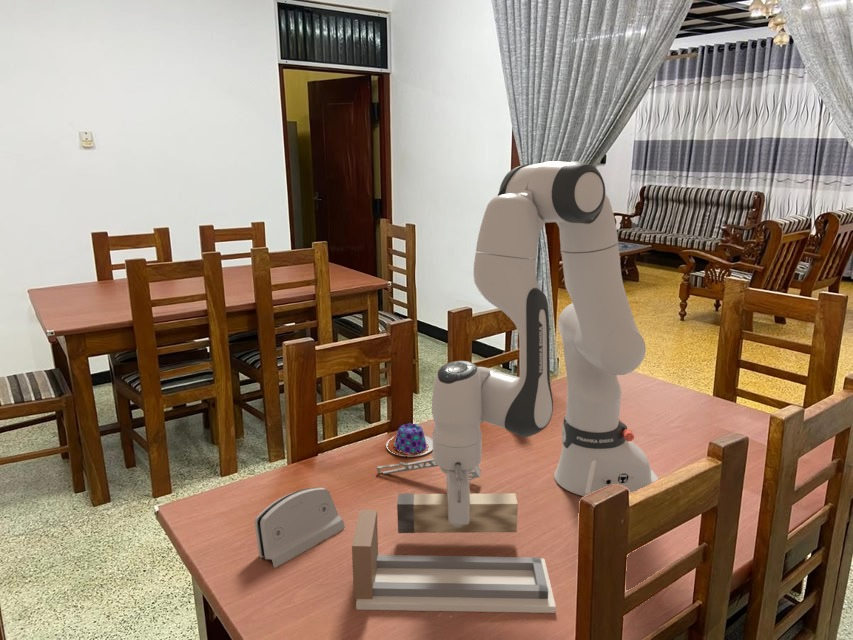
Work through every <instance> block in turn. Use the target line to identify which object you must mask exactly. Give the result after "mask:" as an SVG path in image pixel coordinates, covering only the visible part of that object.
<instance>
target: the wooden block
mask: <svg viewBox="0 0 853 640" xmlns="http://www.w3.org/2000/svg"><path fill="white" fill-rule="evenodd" d="M396 503H397V504H396V507H397V508H396V510H397V513H396V514H397V515H396V516H397V534H423V533H425V534H426V533H427V534H428V533H429V534H434V533H436V534H438V533H439V534H440V533H441V534H442V533H443V534H447V533H450V534H451V533H453V534H454V533H462V534H463V533H467V534H468V533H470V534H471V533H472V534H473V533H517V532H518V506H519V505H518V504H519V503H518V500H517V495H516V493H513V492H512V493H511V492H510V493H505V492H504V493H501V492H500V493H499V492H498V493H470V521H469V524H468V525H462V527H453V525H450V524H449V521H448V501H447V493H414V492H413V493H409V492H408V493H397V502H396Z"/></svg>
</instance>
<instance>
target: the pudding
mask: <svg viewBox="0 0 853 640" xmlns="http://www.w3.org/2000/svg"><path fill="white" fill-rule="evenodd" d="M395 436H396V439H395V443H394V446H396V448H395V450H396V449H397V450H399V451H400V450H401V451H403V452H405V453H412V452H414V453H417V452H421V453H422V451H421V450H424V451H425V449H427V448H426V447H428V446H429V448H428V451H426V452H425V453H423V454H420V455H415V456H414V457H419V456H424V455H426V454H428V453H429V454H430V452H433V438H432V437H430V436H427V435H425V433H424V429H423V428H422V426H421V425H419V424H417V423H410V422H409V423H406V424H402V425H400V427H398V429H397V431H396V435H394V436H392V437H391V438H389V439H388V440H387V441H386V443H385V447H386V449H387V450H388V451H389V452H390V453H391V454H394V455H395V456H396V455H397V456H400V457H405V456H404V455H398V454H395V453H393V452H391V451H390V450H389V449H388V447H387V446H388V443H389V441H390V440H392V439H393V438H394V437H395ZM427 444H428V446H427ZM403 452H402V453H403ZM414 453H412V454H414ZM410 457H411V458H412V456H408V458H410Z"/></svg>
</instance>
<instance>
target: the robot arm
mask: <svg viewBox="0 0 853 640" xmlns="http://www.w3.org/2000/svg"><path fill="white" fill-rule="evenodd" d="M615 219H616V218H615V215H614V211H613V208H612V205H611V202H610V199H609V196H608V195H607V194H606V184H605V181H604V179H603V176H602V174H601V173H600V171H599V170H598V169H597V168H596V167H595V166H594V165H592V164H589V163H587V162H583V161H576V160H574V161H573V160H572V161H570V162H569V161H562V160H561V161H559V160H558V161H557V160H554V161H552V160H551V161H545V162H539V163H534V164H528V163H527V164H523V165H520V166H517V167H514V168H513V169H511V170H510V171H508V172H507V174H505V176H504V177H503V179H502V181H501V184H500V187H499V191H498V194H497V196H495V197H493V198H492V199H491V200H490V201H489V202H488V204H487V205H486V208H485V210H484V214H483V217H482V220H481V224H480V227H479V232H478V236H477V242H476V247H475V248H476V249H475V255H474V261H473V281H474V284H475V286H476V288H477V289H478V292H479V293H480V295H482V296H483V298H484V299H485V300H486V301H487V302H489V303H490V304H491V305H493V306H494V307H496V308H497V309H498V310H499V311H501V312H503V313H504V314H505V315H506V316H507V317H508V318H509V319H510V320H511V321H512V323H513V324H514V325H515V327H516V330H517V332H518V336H519V376H517V375H516V376H515V375H512V374H508V373H505V372H502V371H499V370H497V369H493V368H489V367H484V366H478V365H476V364H475V363H473V362H471V361H468V360H455V361H449V362H448V363H445V364H444V365H442V366H440V367H439V368H438V370H437V371H436V374H435V377H434V382H433V385H432V386H433V387H432V398H431V400H432V401H431V408H432V409H431V411H432V413H431V414H432V417H433V418H432V419H433V422H434V426H433V427H434V428H433V430H432V440H433V450H432V459H433V462H434V463H435V464H436V465H437V466H436V467H439V470H441V472H443V473H444V474H446V494H447V501H448V521H449V524H450V525H453V527H462V525H468V524H469V521H470V494H471V492H470V491H471V490H470V480H469V479H470V478H468V475H470V474H469V473H471V472H472V471H475V470H474V467H476V466H477V465H478V466H479V465H480V463H481V462H482V446H483V445H482V440H483V437H482V430H481V424H482V423H484V422H485V423H488V424H491V425H494V426H497V427H500V428H502V429H505V430H506V431H508V432H510V433H512V434H514V435H517V436H519V437H521V438H529V437H532V436H534V435H535V436H536V434H537V435H538V433H540V432H542V431H543V430H544V429H546V428H547V426H548V425H549V424H550V423H551V420H552V416H553V411H554V399H553V394H552V392H553V391H552V387H551V376H550V374H551V373H550V371H551V369H550V367H551V366H550V365H551V364H550V362H551V361H550V354H551V353H550V350H551V349H550V312H549V303H548V299H547V296H546V294H545V293H544V292H543V291H542V290H541V289H540V287H539V283H538V279H537V271H536V269H537V268H536V264H537V256H538V248H539V235H540V232H541V231H542V229H543V227H544V226H545V224H547V223H548V224H549V223H556V224H557V227H558V228H559V244H560V251H561V261H562V270H563V278H564V279H563V280H564V286H565V289H566V291H567V293H568V295H569V298H570V299H571V303H570V304H569V303H568V305H566V306H565V307H564V308H563V310H562V311H561V312H560V314H559V316H558V322H557V324H558V325H557V326H558V327H557V328H558V331H559V334H560V337H561V341H562V346H563V355H564V356H563V357H564V366H565V372H566V381H567V390H566V391H567V395H566V396H567V397H566V411H565V416H564V418H563V422H562V423H563V425H562V429H561V430H562V431H561V441H562V447H561V452H560V457H559V460H558V464H557V467H556V469H555V471H554V474H553V475H554V480H555V482H556V483H557V484H558V485H559V486H560V487H561V488H563V489H564V490H565V491H569V492H571V493H573V494H575V495H579V496H580V497H581V496H582V497H583V498H585V497H584V496H585V495H588V494H590V493H592V492H594V491H597V490H599V489H601V488H604V487H606V486H609V485H612V484H619V485H623V486H625V487H627V488H628V489H629V490H630V492H633V491H637V490H638V489H640V488H643V487H645V486H647V485H649V484H651V483H652V482H654V481H656V480H658V479H659V477H658V475H657V474H656V473H655V472H654V470H653V469H652V468H651V464H650V461H649V457H648V456H647V454H646V453H645V452H644V451H643V450H642V449H641V448H640V447H639V446H638V445H637V444H635V442H633V440H634V438H635V435H634V433H633V431H632V430H631V429H629V428H628V426H627V425H626V424H625V423H624V422H623V421H622V419H620V414H621V413H620V412H621V411H620V410H621V400H622V388H621V384H620V381H619V378H618V376H625V375H628V374H631V373H632V372H634V371H635V370H637V369H638V368H639V367H640V365H641V364H642V362H643V361H644V359H645V356H646V351H647V347H646V342H645V340H644V337H643V335H642V334H641V332H640V330H639V329H638V326H637V324H636V322H635V319H634V316H633V313H632V308H631V306H630V302H629V300H628V296H627V294H626V293H627V292H626V289H625V286H624V282H623V276H622V268H621V256H620V248H619V246H620V245H619V239H618V238H619V237H618V230H617V224H616V220H615Z"/></svg>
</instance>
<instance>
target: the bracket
mask: <svg viewBox="0 0 853 640" xmlns="http://www.w3.org/2000/svg"><path fill="white" fill-rule="evenodd" d="M401 466H403V467H401ZM434 467H438V466H437V465H436V464H435V463H434V461H433V458H427V459H423V460H418V461H414V462H413V461H412V462H403V461H400V462H399V463H394V464H387V465H385V464H384V465H377V466H376V470H377V472H378V474H379V473H381V472H383V474H382V475H388V474H395V473H402V472H407V471H413V470H420V469H428V468H434ZM387 468H390V469H389V470H384V471H382V470H383V469H387ZM391 468H394V469H391ZM395 468H396V469H395ZM381 469H382V470H381ZM481 473H482V471H481V468H480V466H479V465H477V466H476V467H474V470H473V471H472V472H471V473H469V474H468V478H469V481H471V480H474V479H477V478H478V479H480V477H481Z"/></svg>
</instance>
